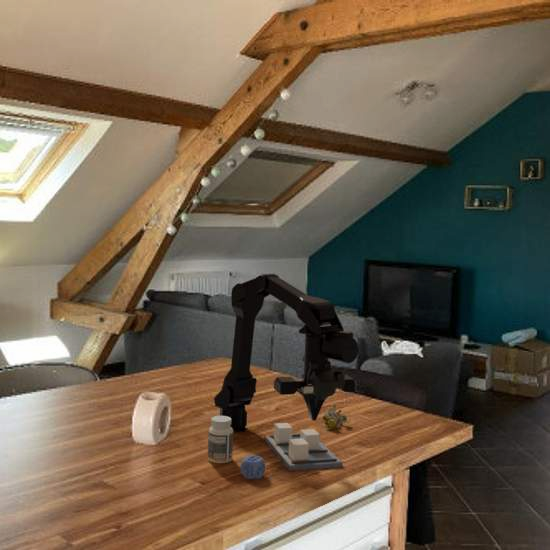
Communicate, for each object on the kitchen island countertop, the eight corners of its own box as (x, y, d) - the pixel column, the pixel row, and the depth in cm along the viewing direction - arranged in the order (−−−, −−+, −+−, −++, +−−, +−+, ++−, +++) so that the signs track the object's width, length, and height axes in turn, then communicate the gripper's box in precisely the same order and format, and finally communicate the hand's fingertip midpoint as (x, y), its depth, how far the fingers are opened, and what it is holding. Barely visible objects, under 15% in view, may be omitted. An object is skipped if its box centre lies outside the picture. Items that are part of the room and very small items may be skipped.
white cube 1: (293, 460, 158) (294, 445, 157) (288, 454, 162) (289, 439, 161) (308, 459, 159) (308, 444, 158) (302, 453, 163) (303, 438, 162)
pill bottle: (219, 453, 164) (221, 413, 163) (237, 459, 160) (238, 418, 159) (202, 459, 160) (204, 418, 159) (220, 466, 156) (221, 424, 155)
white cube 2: (305, 450, 165) (306, 435, 165) (299, 444, 169) (300, 430, 168) (318, 449, 166) (319, 434, 166) (313, 443, 170) (314, 429, 169)
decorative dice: (240, 476, 151) (240, 459, 150) (250, 471, 154) (251, 454, 154) (255, 481, 148) (255, 463, 148) (265, 475, 152) (266, 458, 151)
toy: (348, 410, 198) (347, 422, 184) (336, 423, 199) (334, 437, 184) (335, 398, 199) (332, 409, 184) (323, 411, 199) (320, 423, 184)
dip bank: (289, 470, 155) (289, 464, 155) (264, 439, 175) (264, 434, 175) (342, 466, 159) (342, 460, 159) (311, 436, 179) (312, 431, 179)
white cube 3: (278, 443, 169) (279, 428, 169) (273, 437, 173) (274, 423, 173) (291, 442, 170) (292, 427, 170) (287, 436, 174) (287, 422, 174)
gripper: (289, 363, 149) (286, 433, 150) (367, 361, 154) (364, 428, 156) (274, 353, 159) (271, 418, 161) (348, 351, 165) (345, 414, 166)
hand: (313, 420), depth 161 cm, fingers closed
